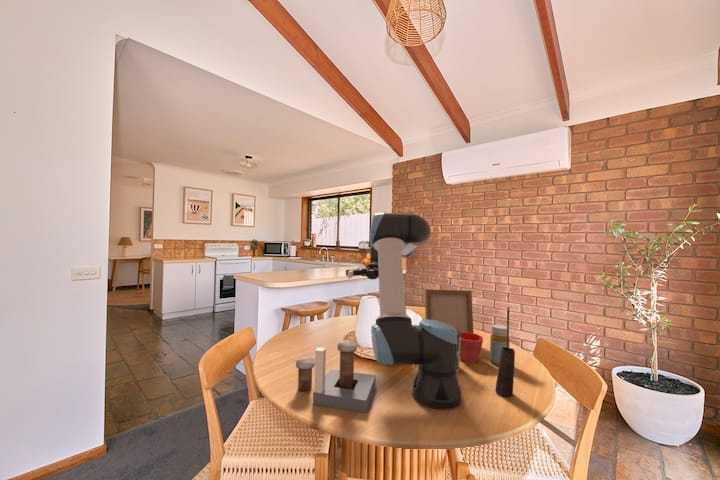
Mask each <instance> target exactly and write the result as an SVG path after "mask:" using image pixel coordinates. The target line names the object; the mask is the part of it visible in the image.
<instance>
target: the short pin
mask: <svg viewBox="0 0 720 480" xmlns="http://www.w3.org/2000/svg"><path fill="white" fill-rule="evenodd" d="M295 361H296V362H295V367H296V368H297V369H298V373H297V375H298V376H297V377H298V378H297V390H298V391H299V392H301V393H306V392H309V391H311V390H312V388H313V387H312V386H313V383H312V382H313V368H315V359H314V358H313V357H310V356H304V357H300V358H298V359H296V360H295Z"/></svg>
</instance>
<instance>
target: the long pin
mask: <svg viewBox="0 0 720 480" xmlns="http://www.w3.org/2000/svg"><path fill="white" fill-rule="evenodd" d="M357 346H358V344H357V342H356V341H353V340H342V341H341V340H340V341H339V342H338V343H337V350H338V352H339V371H340V380H339V388H344V389H351V390H353V376H354V373H355V372H354V371H355V368H354V366H355V365H354V364H355V352H356V351H357V350H358V349H357V348H358V347H357Z"/></svg>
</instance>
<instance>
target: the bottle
mask: <svg viewBox="0 0 720 480" xmlns="http://www.w3.org/2000/svg"><path fill="white" fill-rule="evenodd" d="M489 341H490V344H489V346H490V347H489V361H490V362H491V363H492V364H493V365H495V366H497V367H499V363H500V357H501V350H502V347H507V325H504V324H498V323H497V324H496V323H495V324H492V325H491V334H490V340H489ZM508 343H509V344H510V341H509V342H508Z"/></svg>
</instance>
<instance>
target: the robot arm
mask: <svg viewBox="0 0 720 480" xmlns="http://www.w3.org/2000/svg"><path fill="white" fill-rule="evenodd" d="M431 235H432V229H431V226H430V224H429V222H428V221H427V220H426V219H425V218H424V217H422V216H421V215H418V214H416V213H400V212H398V213H397V212H395V213H394V212H393V213H389V212H376V213H374V214H373V215H372V219H371V226H370V231H369V240H368V241H369V243H370V247H369V251H370V252H369V256H370V257H369V263H368V264H367V265H366V266H365V268H359V267H358V268H354V269H353V268H352V269H346V270H345V276H347V279H352V278H353V277H354V276H356V277H359V276H361V277H366V278H368V279H369V280H376V279H378V292H379V316H377V318H375V324H373V325H371V329H370V330H371V344H372V350H373V353H374V358H375V360H376V362H377V363H379V364H380V365H390V366H393V365H418V370H417V373H416V374H415V375H416V376H415V378H414V380H413V384H412V393H411V394H412V396H413V398H414V399H415V400H416V401H417V402H418V403H419V404H421V405H423V406H426V407H428V408H432V409H437V410H451V409H455V408H457V407H459V406H460V405H461V404H462V401H463V395H462V393H463V392H462V389H461V386H460V383H459V379H458V375H457V372H456V369H457V344H458V341H457V331H456V329H455V328H454V327H453V326H451V325H449V324H447V323H444V322H440V321H436V320H429V319H420V321H419V323H418V324H419V325H413V322H412V318H411V317H410V316H409V315H408V314H407V307H406V305H407V304H406V294H405V293H406V292H405V282H404V281H405V280H404V270H403V258H406V259H407V258H413V257H414V254H415V249H416V248H417V247H419V246H422V245H425V244H426V243H427V242H428V240H430V238H431Z"/></svg>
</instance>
